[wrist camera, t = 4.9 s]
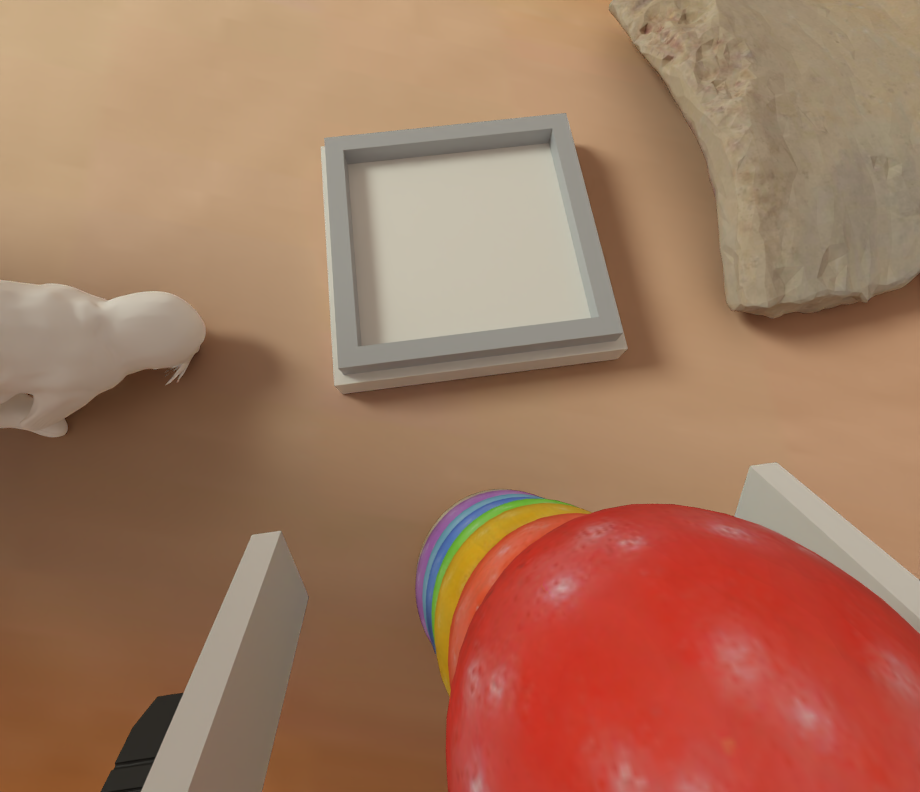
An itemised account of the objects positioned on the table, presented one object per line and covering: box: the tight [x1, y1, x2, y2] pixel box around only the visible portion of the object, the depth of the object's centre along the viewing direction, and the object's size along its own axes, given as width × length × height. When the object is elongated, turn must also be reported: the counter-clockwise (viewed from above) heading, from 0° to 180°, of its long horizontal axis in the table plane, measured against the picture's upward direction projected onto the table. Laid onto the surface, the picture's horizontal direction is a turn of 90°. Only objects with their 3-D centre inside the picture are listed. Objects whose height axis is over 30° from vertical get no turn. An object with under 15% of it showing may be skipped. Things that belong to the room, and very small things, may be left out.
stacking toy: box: [416, 489, 920, 792], centre depth 11 cm, size 8×8×19 cm
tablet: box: [609, 0, 920, 319], centre depth 24 cm, size 24×8×20 cm
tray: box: [321, 113, 628, 394], centre depth 24 cm, size 15×15×2 cm
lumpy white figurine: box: [0, 280, 206, 437], centre depth 19 cm, size 6×8×12 cm
